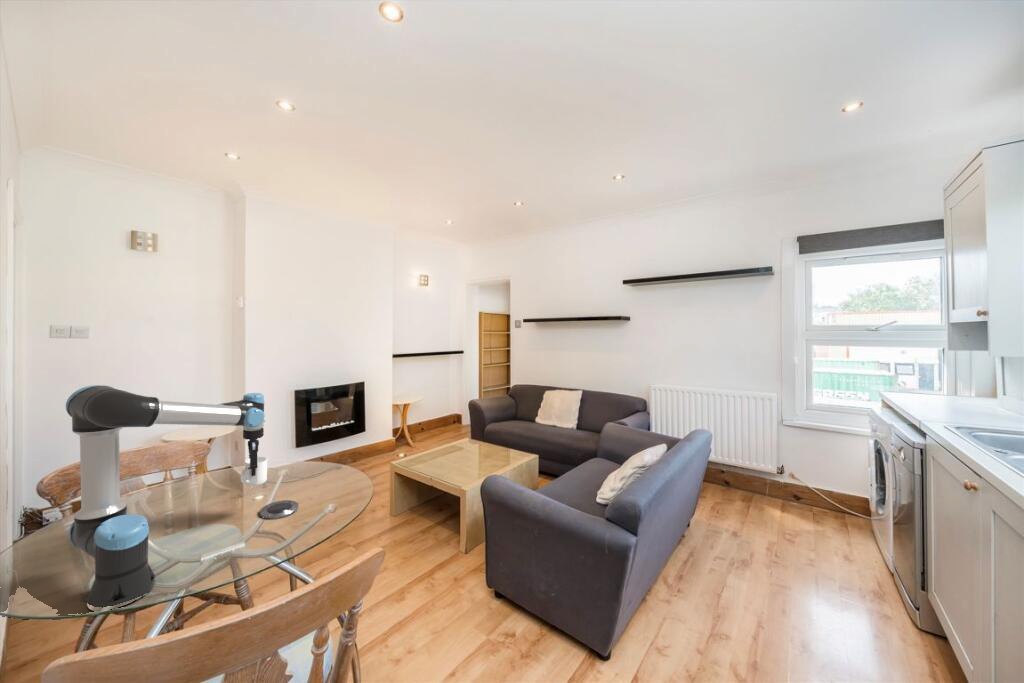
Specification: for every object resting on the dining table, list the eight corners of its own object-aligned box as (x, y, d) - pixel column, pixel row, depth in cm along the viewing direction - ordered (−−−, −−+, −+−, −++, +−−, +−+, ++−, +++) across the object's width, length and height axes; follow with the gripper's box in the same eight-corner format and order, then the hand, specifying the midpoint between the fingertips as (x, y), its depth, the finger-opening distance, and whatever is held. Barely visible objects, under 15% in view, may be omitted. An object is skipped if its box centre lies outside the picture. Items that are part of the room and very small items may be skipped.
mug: (249, 491, 160) (249, 467, 159) (232, 488, 161) (232, 465, 161) (271, 479, 172) (271, 457, 171) (255, 477, 173) (255, 455, 172)
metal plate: (281, 521, 164) (281, 518, 164) (251, 516, 167) (251, 513, 167) (305, 505, 179) (305, 502, 179) (278, 500, 182) (278, 498, 182)
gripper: (265, 434, 159) (264, 485, 161) (262, 421, 177) (261, 467, 178) (243, 436, 155) (242, 489, 156) (242, 423, 172) (242, 470, 174)
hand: (252, 478), depth 167 cm, fingers closed on mug, 9 cm apart
